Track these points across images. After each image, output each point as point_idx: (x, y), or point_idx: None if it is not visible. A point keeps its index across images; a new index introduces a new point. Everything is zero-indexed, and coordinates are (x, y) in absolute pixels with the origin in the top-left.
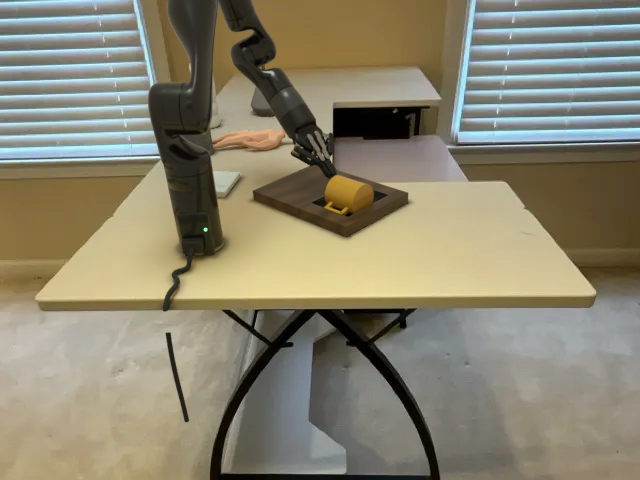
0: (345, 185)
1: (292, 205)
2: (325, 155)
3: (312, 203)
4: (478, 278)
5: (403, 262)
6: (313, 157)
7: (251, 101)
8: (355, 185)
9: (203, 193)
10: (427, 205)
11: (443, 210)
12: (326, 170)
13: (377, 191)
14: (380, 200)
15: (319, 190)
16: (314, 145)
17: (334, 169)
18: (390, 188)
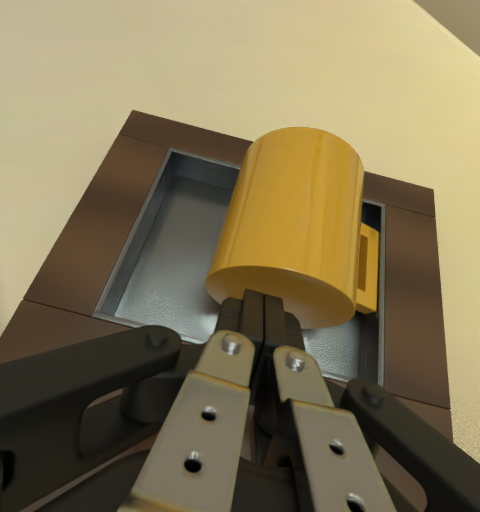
0: (345, 198)
1: None
2: (248, 356)
3: (378, 372)
4: (377, 6)
5: (414, 88)
6: (398, 412)
7: None
8: (335, 155)
9: None
10: (138, 96)
11: (155, 65)
12: (298, 329)
13: (154, 191)
14: (225, 161)
15: (246, 419)
16: (355, 472)
17: (250, 295)
18: (115, 160)
